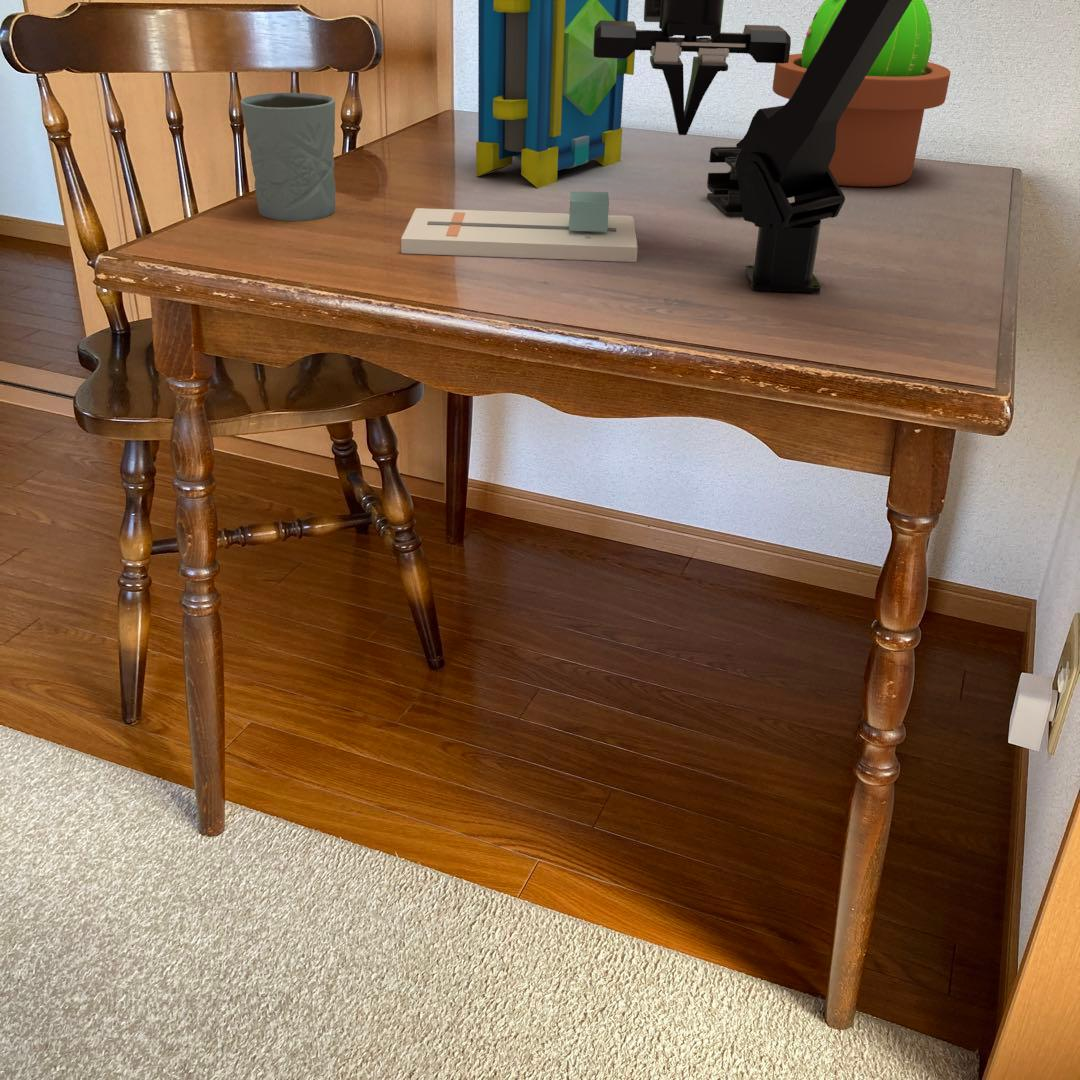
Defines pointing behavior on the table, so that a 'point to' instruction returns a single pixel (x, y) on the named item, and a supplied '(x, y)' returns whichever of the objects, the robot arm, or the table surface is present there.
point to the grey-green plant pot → (292, 154)
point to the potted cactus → (877, 98)
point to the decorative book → (547, 86)
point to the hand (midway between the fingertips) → (682, 134)
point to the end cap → (725, 183)
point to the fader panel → (516, 236)
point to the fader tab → (588, 211)
